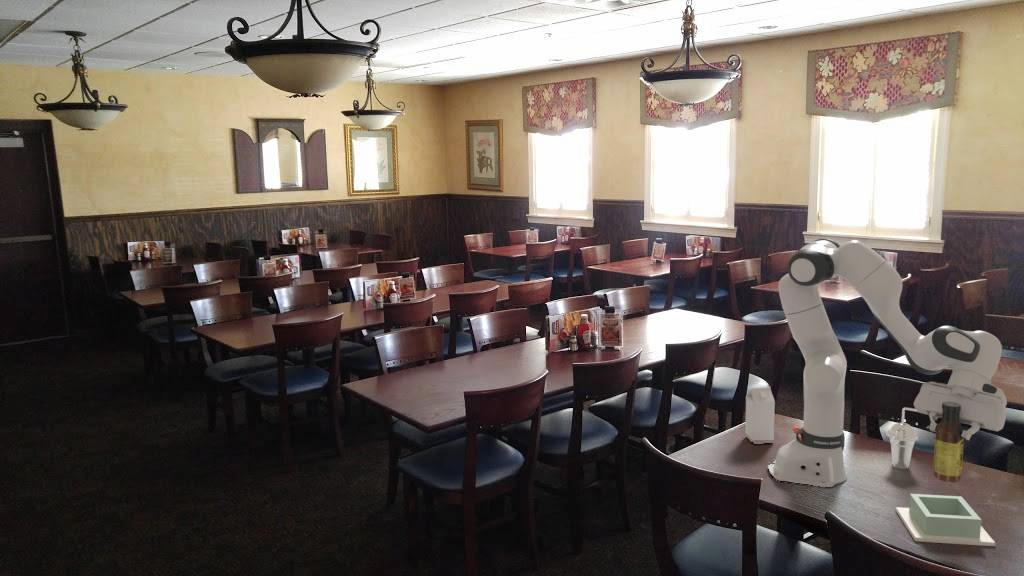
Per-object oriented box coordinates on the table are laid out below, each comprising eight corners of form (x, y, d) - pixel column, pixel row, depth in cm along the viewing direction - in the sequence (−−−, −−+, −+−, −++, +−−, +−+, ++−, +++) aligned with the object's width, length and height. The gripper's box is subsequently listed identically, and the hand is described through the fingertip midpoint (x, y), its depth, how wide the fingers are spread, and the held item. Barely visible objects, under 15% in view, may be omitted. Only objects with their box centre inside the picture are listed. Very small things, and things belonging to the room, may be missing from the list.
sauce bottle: (965, 484, 182) (971, 409, 178) (937, 482, 183) (943, 408, 179) (954, 472, 188) (961, 400, 184) (928, 471, 190) (934, 399, 186)
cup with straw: (908, 460, 228) (912, 399, 225) (921, 472, 220) (926, 409, 216) (880, 459, 229) (884, 399, 226) (892, 472, 220) (896, 409, 217)
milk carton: (745, 437, 251) (746, 385, 248) (764, 435, 252) (766, 383, 248) (753, 445, 244) (754, 391, 241) (773, 443, 245) (775, 390, 241)
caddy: (915, 541, 182) (916, 519, 181) (895, 510, 198) (896, 490, 197) (994, 546, 179) (996, 523, 177) (968, 514, 194) (970, 493, 193)
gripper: (921, 373, 194) (902, 417, 189) (1009, 391, 178) (990, 439, 174) (927, 385, 197) (909, 429, 193) (1014, 404, 181) (996, 451, 177)
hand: (948, 434), depth 183 cm, fingers closed on sauce bottle, 6 cm apart
